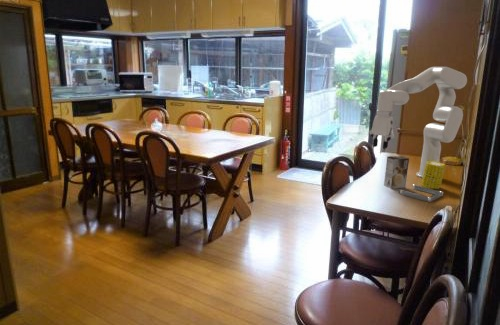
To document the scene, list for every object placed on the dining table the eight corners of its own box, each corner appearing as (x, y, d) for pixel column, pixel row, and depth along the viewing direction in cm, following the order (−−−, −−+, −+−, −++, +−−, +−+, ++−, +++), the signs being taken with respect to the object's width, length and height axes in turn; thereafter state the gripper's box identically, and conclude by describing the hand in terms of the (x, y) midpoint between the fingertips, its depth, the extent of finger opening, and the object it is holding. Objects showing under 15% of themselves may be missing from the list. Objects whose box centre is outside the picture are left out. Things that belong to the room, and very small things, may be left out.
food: (431, 187, 204) (442, 193, 195) (412, 182, 202) (423, 189, 192) (442, 161, 200) (454, 167, 191) (423, 156, 198) (435, 162, 188)
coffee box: (397, 184, 202) (401, 155, 198) (405, 187, 196) (409, 158, 192) (383, 185, 199) (387, 156, 195) (390, 188, 193) (394, 159, 189)
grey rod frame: (413, 188, 196) (414, 184, 195) (443, 195, 185) (443, 191, 184) (399, 193, 186) (400, 189, 185) (429, 202, 175) (430, 198, 174)
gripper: (402, 115, 193) (398, 149, 197) (373, 111, 205) (369, 144, 209) (395, 116, 188) (391, 151, 192) (365, 112, 200) (362, 145, 204)
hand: (379, 147), depth 201 cm, fingers open, 5 cm apart
